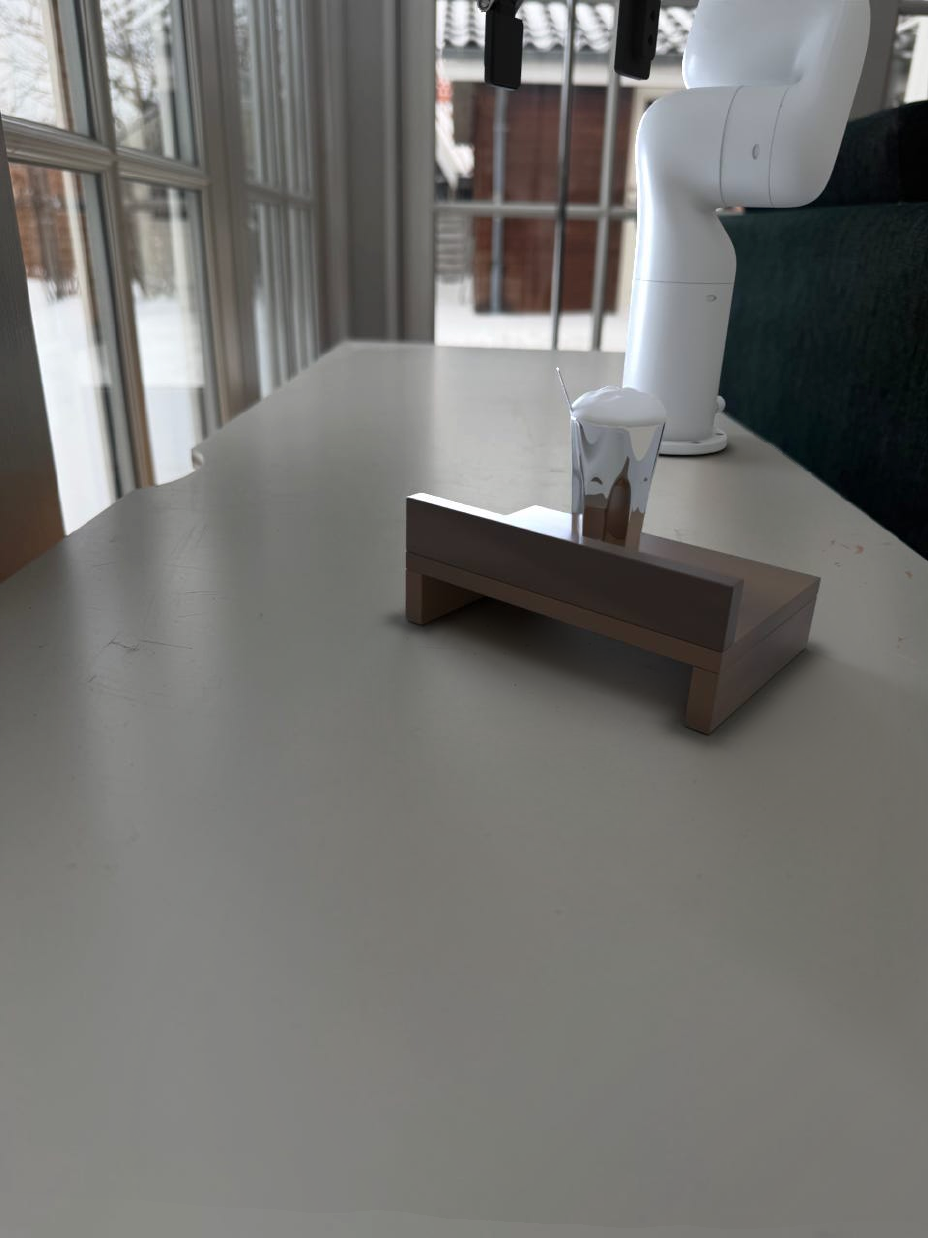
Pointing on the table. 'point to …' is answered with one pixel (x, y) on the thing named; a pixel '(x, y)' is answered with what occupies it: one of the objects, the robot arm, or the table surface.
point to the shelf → (616, 593)
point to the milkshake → (613, 462)
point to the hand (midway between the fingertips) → (563, 82)
